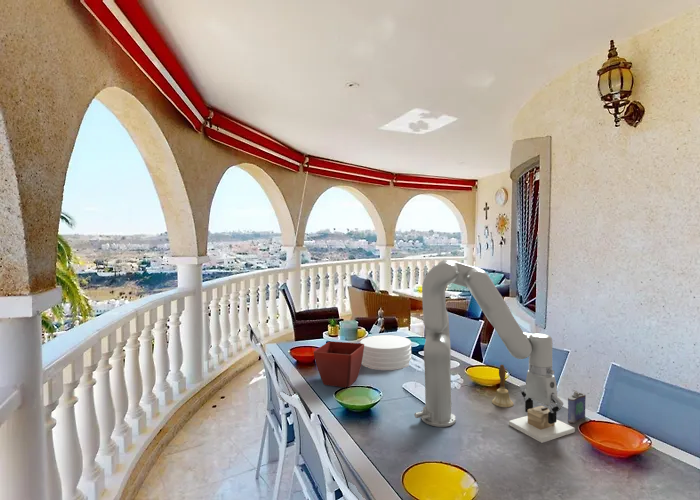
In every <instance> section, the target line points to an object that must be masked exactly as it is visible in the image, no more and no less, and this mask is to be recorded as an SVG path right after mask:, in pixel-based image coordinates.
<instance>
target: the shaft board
mask: <svg viewBox="0 0 700 500" xmlns="http://www.w3.org/2000/svg"><path fill="white" fill-rule="evenodd" d="M508 426H510V427H512V428H514V429H515V430H518V431H519V432H521V433H523V434H525V435H527V436H528V437H530V438H532V439H534V440H536V442H537V441H538V442H539V443H541V444H543V443H546V442H549V441H551V440H552V441H553V440H555V439H557V438H560V437H564V436H567V435H570V434H573V433H575V432H576V428H575V427H574V426H571V425H570V424H569V423H565V422H563V421H562V420H558V419H557V418H556V423H555V425H554V426H551V427H548V428H545V429H541V430H540V429H538V428H536V427H534V426H532V425H530V424H528V415H526V416H521V417H517V418H514V419H511V420H508Z"/></svg>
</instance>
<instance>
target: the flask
mask: <svg viewBox="0 0 700 500" xmlns="http://www.w3.org/2000/svg"><path fill="white" fill-rule="evenodd" d="M572 392H573V394H571V395H570V396H569V397H567V422H568V424H569V423H570V424H576V423H579V422H580V421H582V420H584V419H586V394H585V393H583V392H579V391H577V390H576V389H575V390H572Z"/></svg>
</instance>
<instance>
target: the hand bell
mask: <svg viewBox="0 0 700 500" xmlns="http://www.w3.org/2000/svg"><path fill="white" fill-rule="evenodd" d="M506 373H507V372H506V368H505V365H504V364H500V366H499V368H498V376H499V379H500V381H499V382H500V385H499V388H498V389H496V394H495V396H494V398H493V399H492V400H491V403H492V404H493V405H494V406H496V407H500V408H512V407H514V405H515V404H514V401H513V400H511V397H510V393H509V390H508V389H507V388H506V387H505V379H506V375H507V374H506Z"/></svg>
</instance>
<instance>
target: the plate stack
mask: <svg viewBox="0 0 700 500" xmlns="http://www.w3.org/2000/svg"><path fill="white" fill-rule="evenodd" d="M359 343H360V344H364V352H363V358H362V363H361V366H363V367H366V368H367V367H368V368H367V369H371V370H376V371H395V370H397V371H398V370H401V369H405V368H408V367H410V365H409V361H410V360H411V361H412V341H411V339H410V338H408V337H405V336H399V335H393V334H392V335H389V334H384V335H373V336H367V337H364V338H362V339H361V340H360V341H359Z"/></svg>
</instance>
